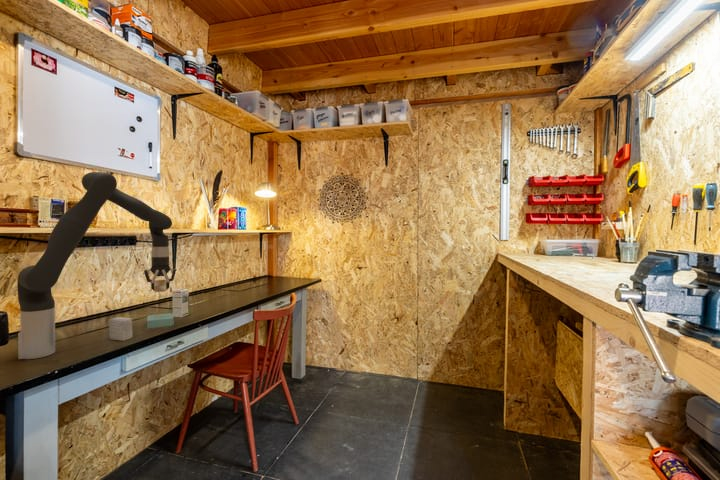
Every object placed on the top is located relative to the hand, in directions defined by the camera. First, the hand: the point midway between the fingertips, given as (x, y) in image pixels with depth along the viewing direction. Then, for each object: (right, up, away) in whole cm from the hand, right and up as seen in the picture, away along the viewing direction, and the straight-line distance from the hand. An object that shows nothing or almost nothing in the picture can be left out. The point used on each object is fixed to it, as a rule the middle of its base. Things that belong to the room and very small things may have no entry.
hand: (160, 289), depth 166 cm
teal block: (0, -17, +1) cm, 17 cm away
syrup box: (+1, -17, +16) cm, 23 cm away
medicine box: (-4, -18, -22) cm, 29 cm away
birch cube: (0, 0, 0) cm, 0 cm away
